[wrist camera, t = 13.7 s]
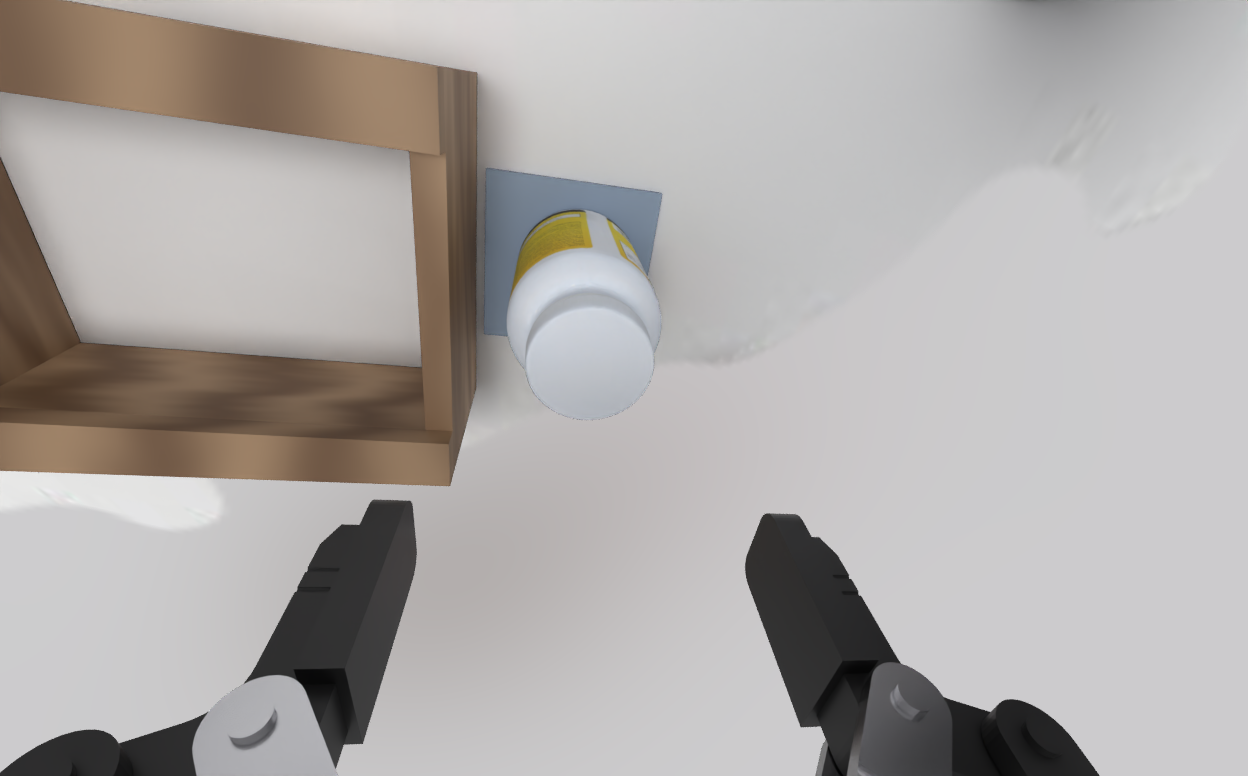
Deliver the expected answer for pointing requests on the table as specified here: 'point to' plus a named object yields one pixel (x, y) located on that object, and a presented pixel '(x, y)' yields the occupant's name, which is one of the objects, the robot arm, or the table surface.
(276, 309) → the table surface
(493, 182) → the pad
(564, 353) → the pill bottle
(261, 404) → the crate
